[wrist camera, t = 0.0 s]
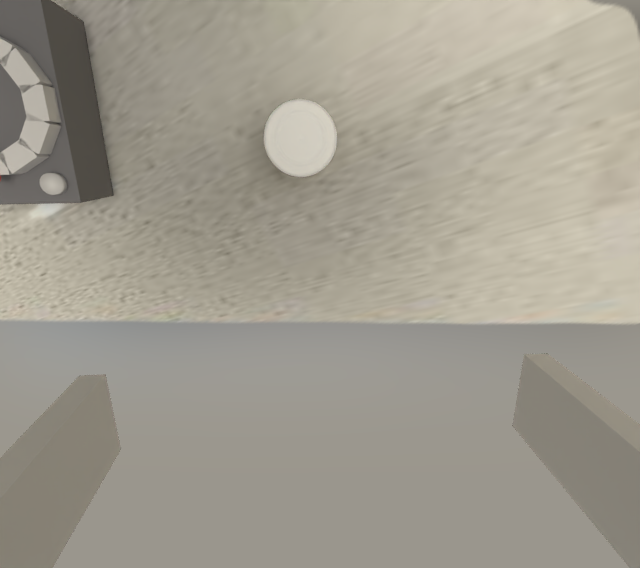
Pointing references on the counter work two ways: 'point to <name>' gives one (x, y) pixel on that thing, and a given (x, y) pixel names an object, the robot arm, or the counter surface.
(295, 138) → the sprinkles bottle
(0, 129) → the grey block with ring
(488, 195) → the counter surface
